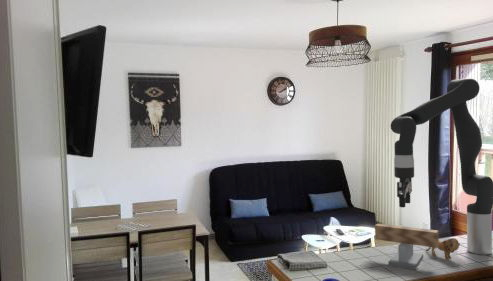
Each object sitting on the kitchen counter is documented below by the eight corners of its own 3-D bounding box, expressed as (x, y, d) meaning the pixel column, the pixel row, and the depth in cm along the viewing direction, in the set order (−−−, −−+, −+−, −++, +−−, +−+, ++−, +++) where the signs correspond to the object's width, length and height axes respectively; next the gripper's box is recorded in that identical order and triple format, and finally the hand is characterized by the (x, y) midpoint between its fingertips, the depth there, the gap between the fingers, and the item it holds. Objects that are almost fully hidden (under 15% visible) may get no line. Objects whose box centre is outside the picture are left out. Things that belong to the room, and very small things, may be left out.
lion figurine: (462, 259, 162) (462, 238, 162) (455, 262, 159) (455, 240, 159) (429, 250, 174) (428, 230, 174) (421, 253, 171) (421, 232, 171)
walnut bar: (438, 245, 156) (438, 230, 156) (437, 247, 154) (436, 232, 153) (377, 237, 170) (377, 223, 170) (375, 239, 167) (374, 225, 167)
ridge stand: (398, 253, 172) (398, 235, 171) (423, 257, 166) (422, 238, 166) (388, 265, 159) (388, 245, 158) (414, 269, 153) (414, 249, 153)
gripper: (409, 168, 153) (410, 209, 153) (417, 164, 164) (418, 202, 165) (389, 167, 157) (390, 207, 158) (399, 163, 168) (399, 201, 169)
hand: (405, 205), depth 161 cm, fingers open, 8 cm apart
